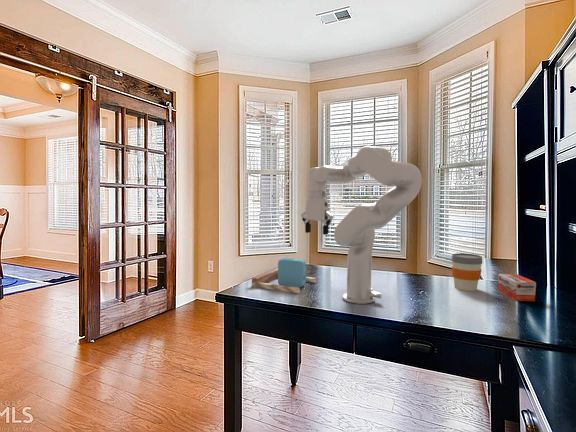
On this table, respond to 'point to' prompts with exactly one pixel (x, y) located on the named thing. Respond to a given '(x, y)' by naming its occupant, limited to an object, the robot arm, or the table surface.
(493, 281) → the table surface
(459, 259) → the reusable coffee cup
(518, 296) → the medicine box
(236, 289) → the table surface
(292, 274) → the light blue square slab
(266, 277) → the guide channel
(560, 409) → the table surface
